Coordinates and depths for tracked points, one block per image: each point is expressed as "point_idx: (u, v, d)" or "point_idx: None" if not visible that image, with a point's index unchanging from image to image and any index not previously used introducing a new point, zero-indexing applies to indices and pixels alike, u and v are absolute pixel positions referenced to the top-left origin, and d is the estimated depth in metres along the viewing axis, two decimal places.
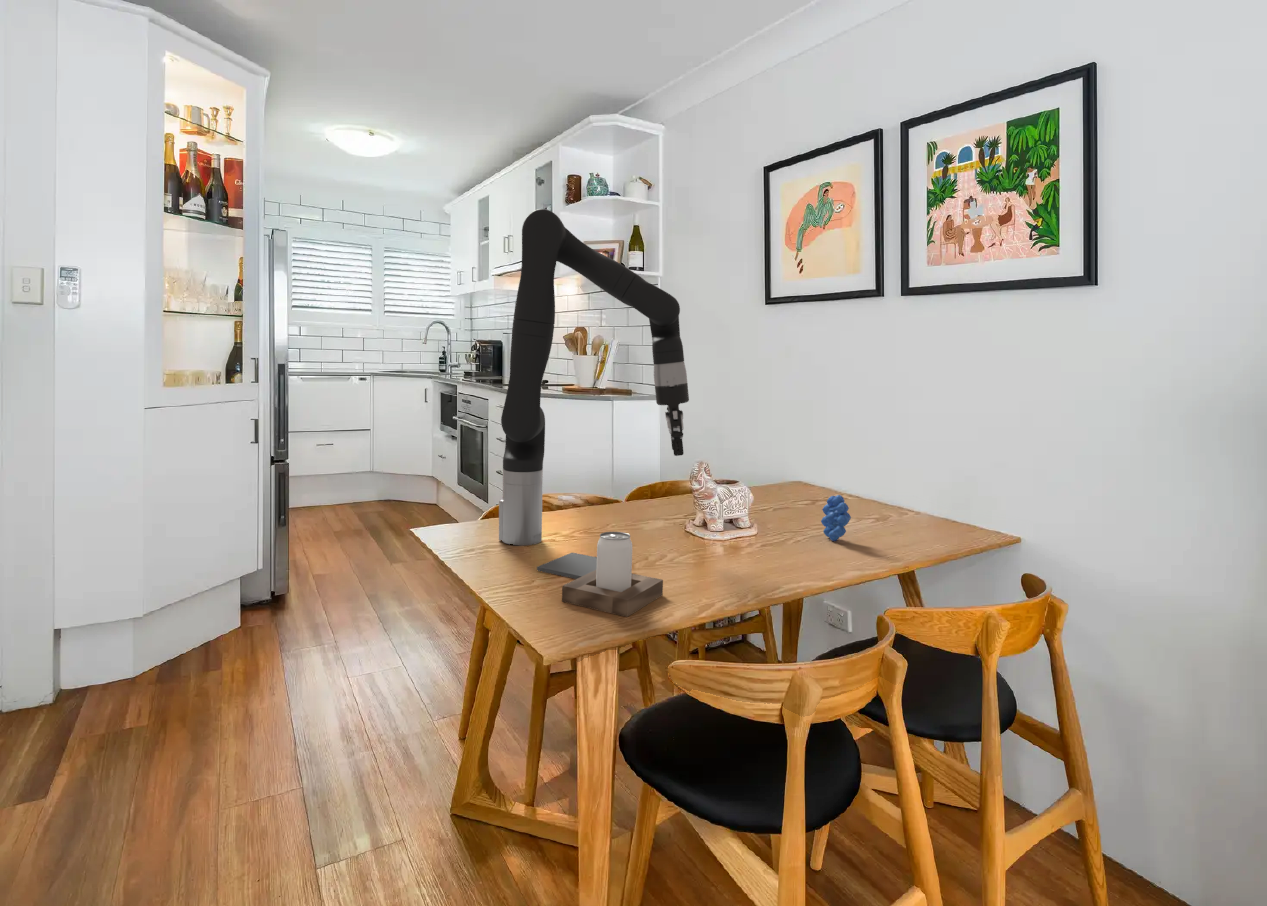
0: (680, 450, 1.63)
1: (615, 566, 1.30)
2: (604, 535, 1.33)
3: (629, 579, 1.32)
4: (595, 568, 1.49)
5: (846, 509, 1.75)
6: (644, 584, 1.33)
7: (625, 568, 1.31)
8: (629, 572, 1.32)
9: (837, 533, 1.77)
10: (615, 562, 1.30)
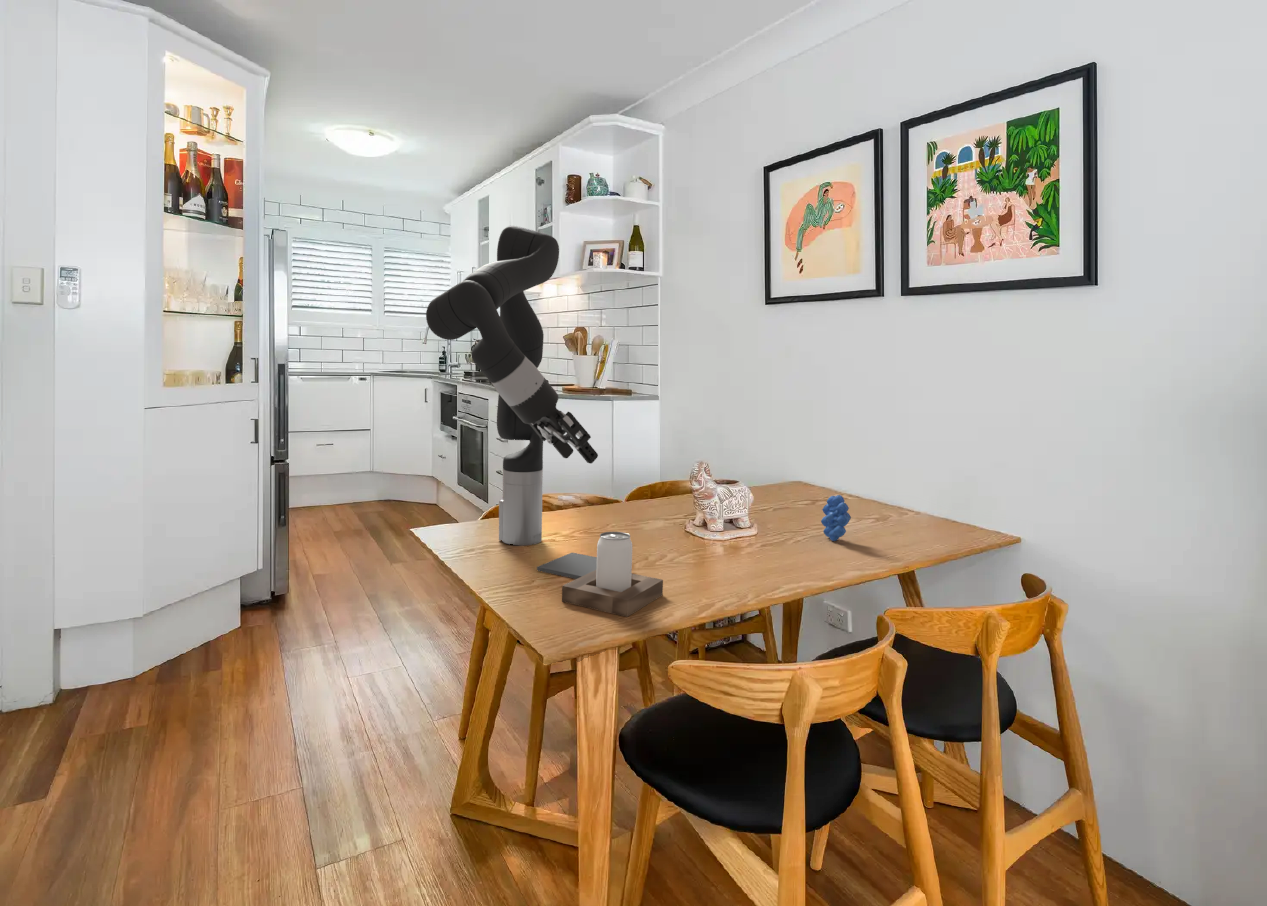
0: None
1: (615, 566, 1.30)
2: (604, 535, 1.33)
3: (629, 579, 1.32)
4: (595, 568, 1.49)
5: (846, 509, 1.75)
6: (644, 584, 1.33)
7: (625, 568, 1.31)
8: (629, 572, 1.32)
9: (837, 533, 1.77)
10: (615, 562, 1.30)
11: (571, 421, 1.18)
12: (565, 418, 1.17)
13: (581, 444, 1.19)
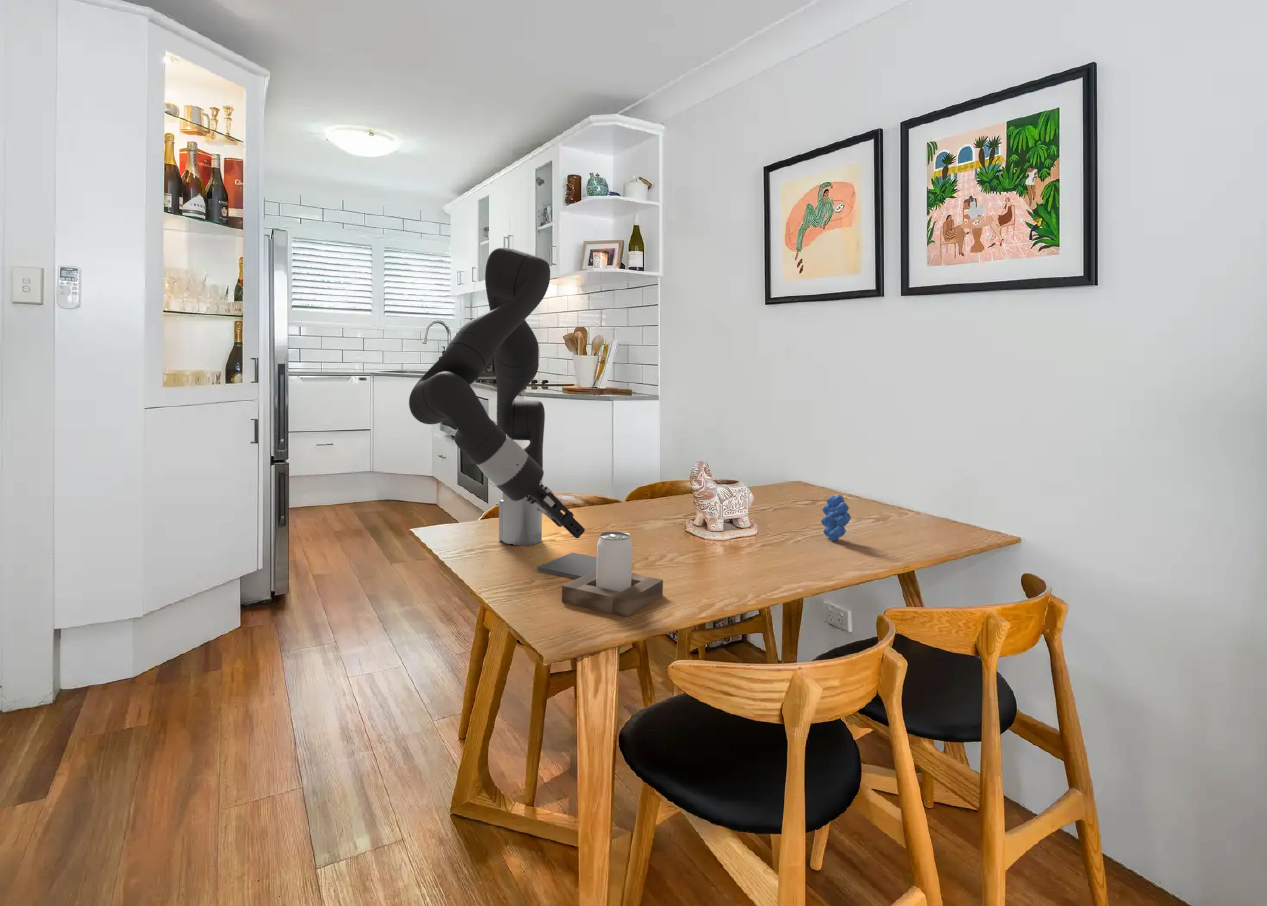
0: None
1: (615, 566, 1.30)
2: (604, 535, 1.33)
3: (629, 579, 1.32)
4: (595, 568, 1.49)
5: (846, 509, 1.75)
6: (644, 584, 1.33)
7: (625, 568, 1.31)
8: (629, 572, 1.32)
9: (837, 533, 1.77)
10: (615, 562, 1.30)
11: (552, 501, 1.19)
12: (546, 498, 1.18)
13: (563, 523, 1.20)
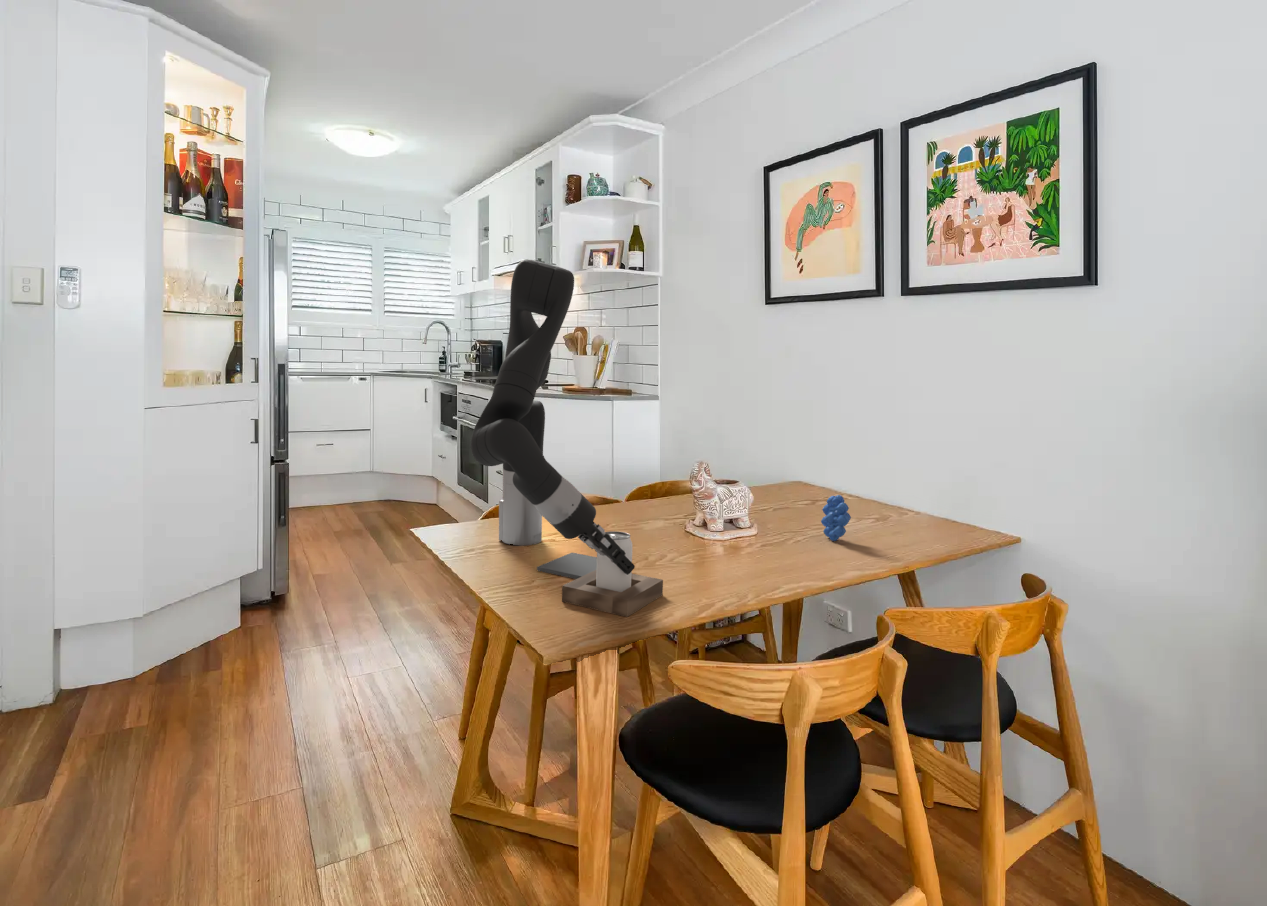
0: None
1: (615, 566, 1.30)
2: None
3: (629, 579, 1.32)
4: (595, 568, 1.49)
5: (846, 509, 1.75)
6: (644, 584, 1.33)
7: None
8: None
9: (837, 533, 1.77)
10: None
11: (609, 543, 1.24)
12: (603, 540, 1.24)
13: (616, 561, 1.26)
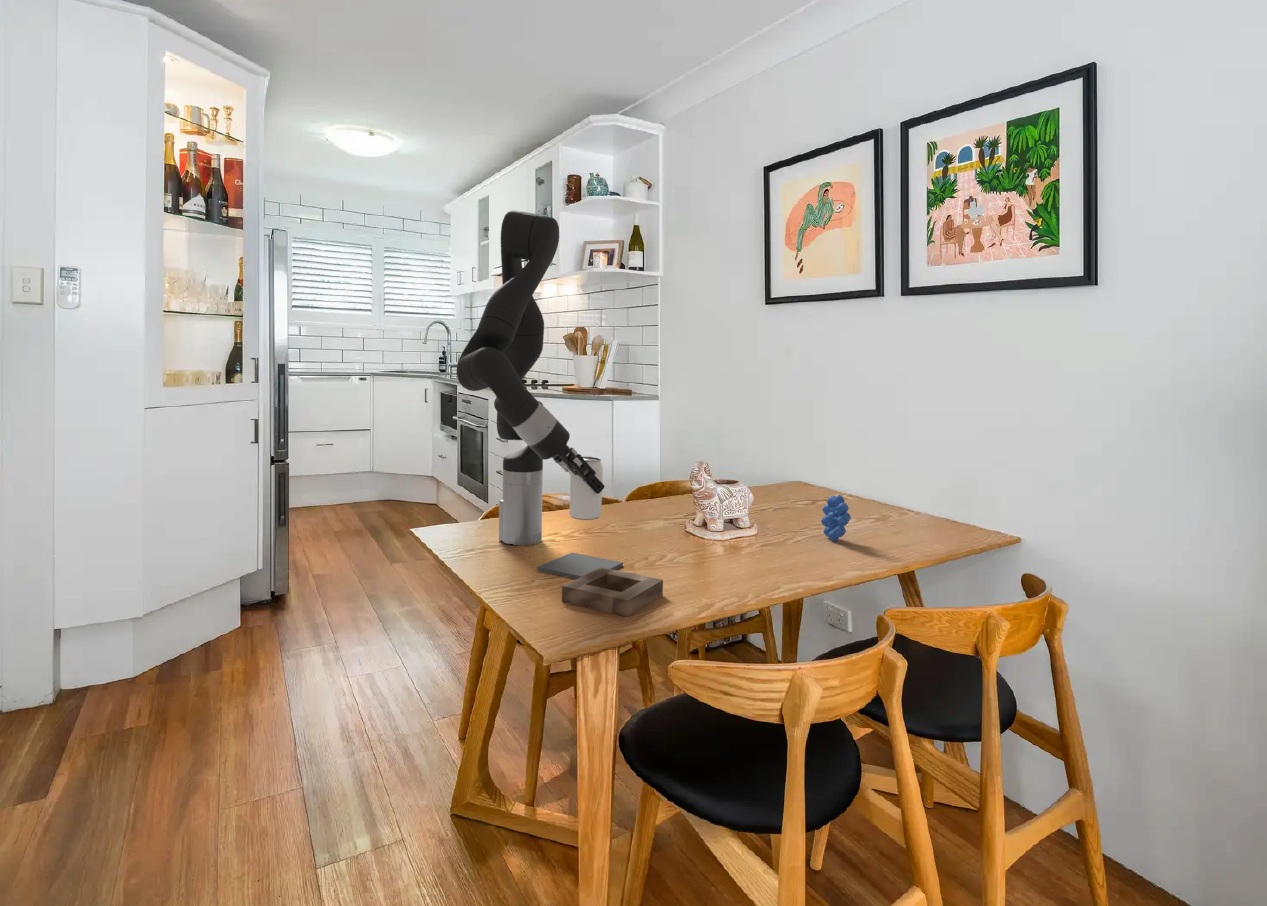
0: None
1: (587, 485, 1.44)
2: None
3: (599, 498, 1.46)
4: (595, 568, 1.49)
5: (846, 509, 1.75)
6: (644, 584, 1.33)
7: None
8: None
9: (837, 533, 1.77)
10: None
11: (580, 462, 1.38)
12: (575, 460, 1.38)
13: (587, 479, 1.40)
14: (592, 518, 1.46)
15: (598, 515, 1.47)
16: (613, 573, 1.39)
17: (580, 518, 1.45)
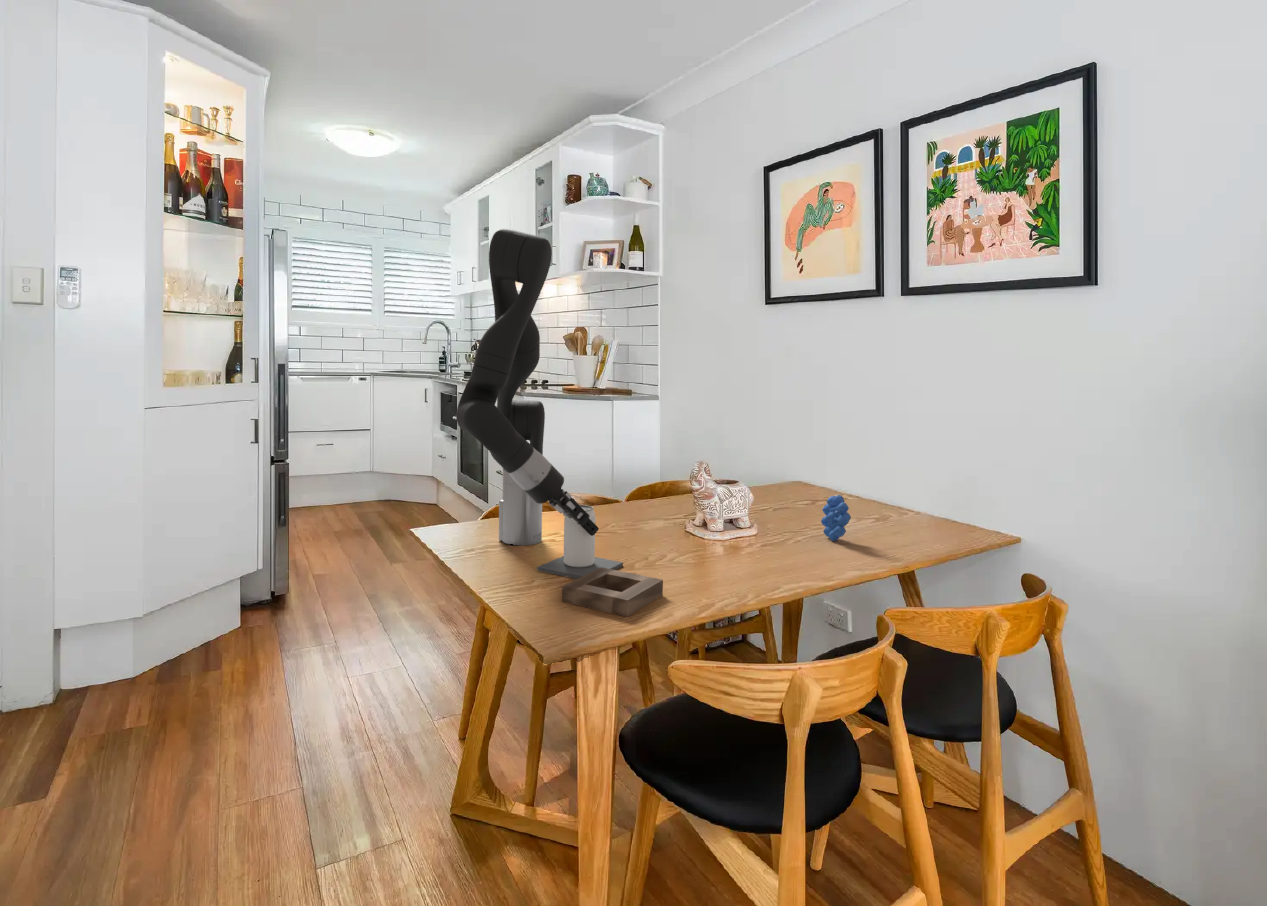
0: None
1: (580, 535, 1.48)
2: None
3: (592, 546, 1.50)
4: (595, 568, 1.49)
5: (846, 509, 1.75)
6: (644, 584, 1.33)
7: (588, 537, 1.49)
8: (592, 540, 1.50)
9: (837, 533, 1.77)
10: (580, 530, 1.48)
11: (573, 505, 1.42)
12: (568, 503, 1.41)
13: (581, 523, 1.43)
14: (585, 566, 1.49)
15: (591, 563, 1.50)
16: (613, 573, 1.39)
17: (574, 566, 1.49)
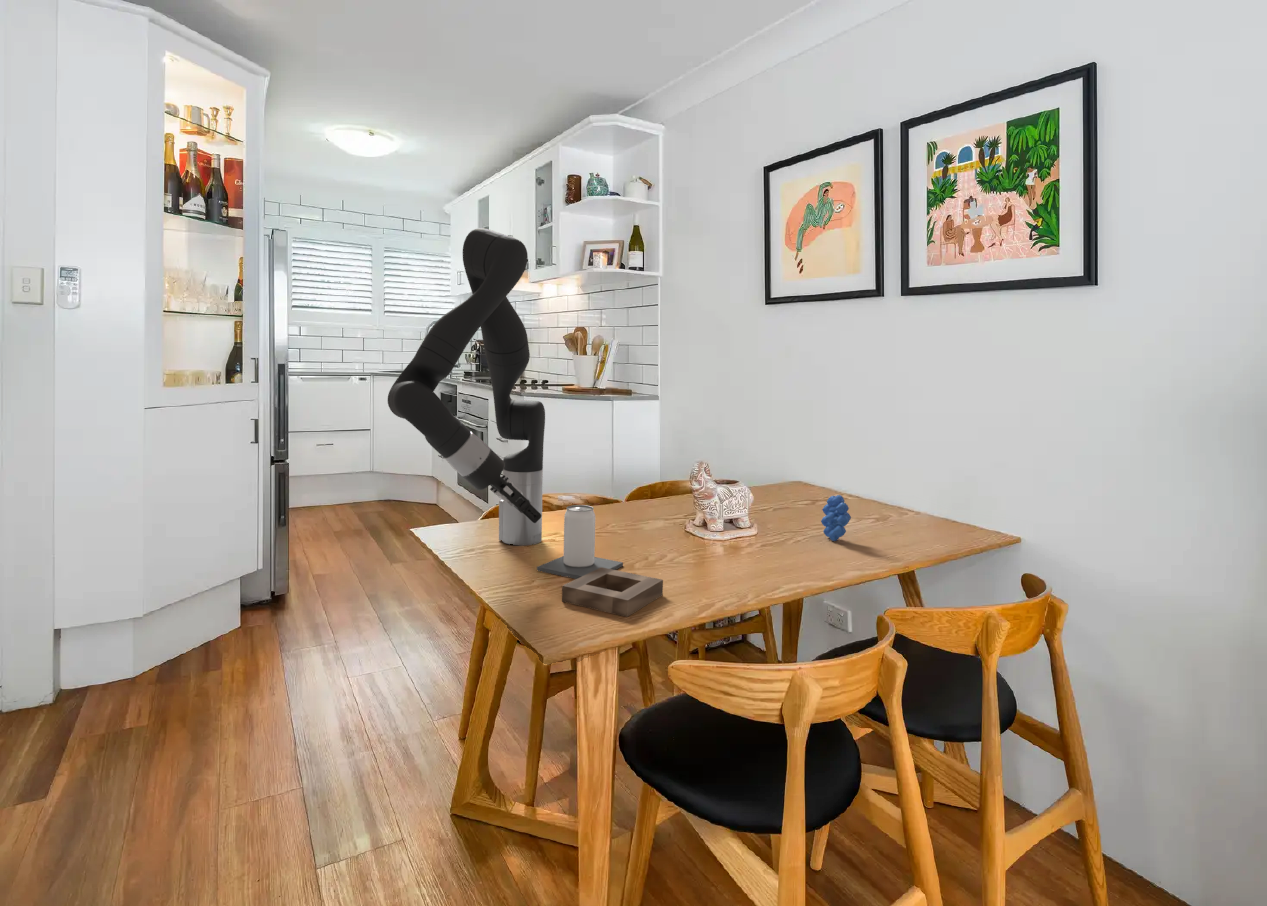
0: None
1: (580, 534, 1.48)
2: (570, 508, 1.51)
3: (592, 546, 1.50)
4: (595, 568, 1.49)
5: (846, 509, 1.75)
6: (644, 584, 1.33)
7: (588, 536, 1.49)
8: (592, 540, 1.50)
9: (837, 533, 1.77)
10: (579, 530, 1.48)
11: (511, 490, 1.35)
12: (505, 488, 1.35)
13: (521, 509, 1.36)
14: (585, 566, 1.49)
15: (591, 563, 1.50)
16: (613, 573, 1.39)
17: (574, 566, 1.49)
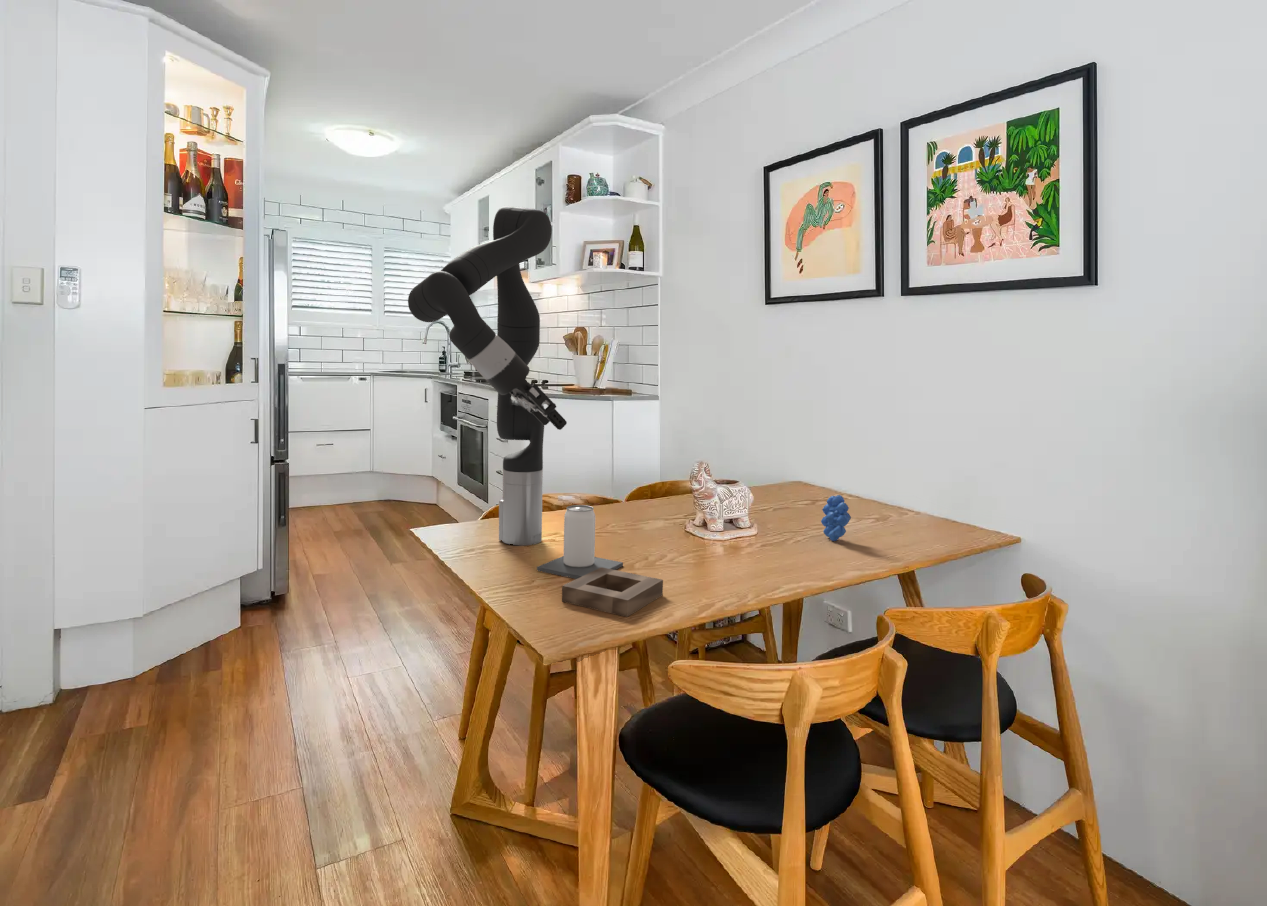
0: None
1: (580, 534, 1.48)
2: (570, 508, 1.51)
3: (592, 546, 1.50)
4: (595, 568, 1.49)
5: (846, 509, 1.75)
6: (644, 584, 1.33)
7: (588, 536, 1.49)
8: (592, 540, 1.50)
9: (837, 533, 1.77)
10: (579, 530, 1.48)
11: (537, 392, 1.33)
12: (531, 389, 1.32)
13: (547, 413, 1.34)
14: (585, 566, 1.49)
15: (591, 563, 1.50)
16: (613, 573, 1.39)
17: (574, 566, 1.49)
